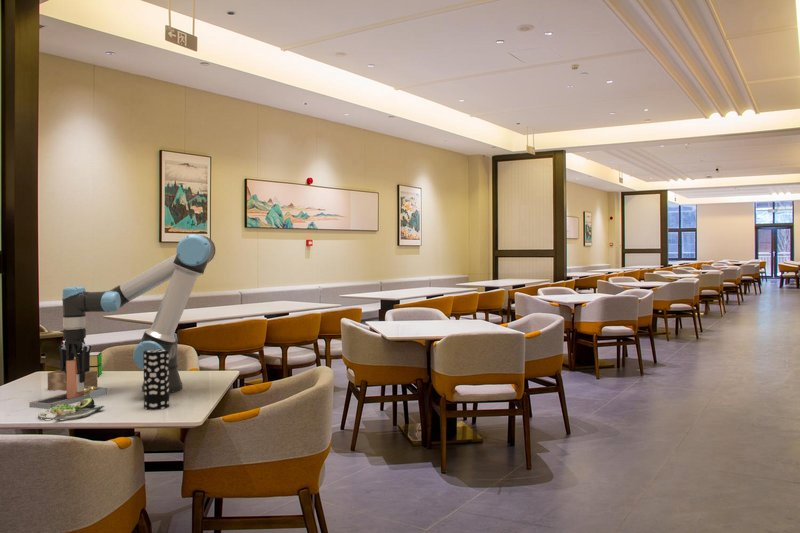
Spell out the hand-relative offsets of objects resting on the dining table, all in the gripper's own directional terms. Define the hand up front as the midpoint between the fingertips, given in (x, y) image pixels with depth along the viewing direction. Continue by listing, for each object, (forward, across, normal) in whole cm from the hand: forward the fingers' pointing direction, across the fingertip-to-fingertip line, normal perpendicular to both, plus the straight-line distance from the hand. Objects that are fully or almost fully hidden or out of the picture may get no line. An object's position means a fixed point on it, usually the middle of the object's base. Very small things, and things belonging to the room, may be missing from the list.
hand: (75, 390), depth 233 cm
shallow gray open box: (+3, 0, +6) cm, 7 cm away
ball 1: (+3, 0, -5) cm, 6 cm away
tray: (+3, 0, -6) cm, 7 cm away
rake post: (+3, 0, 0) cm, 3 cm away
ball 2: (+3, 0, -9) cm, 9 cm away
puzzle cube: (+4, +34, -39) cm, 52 cm away
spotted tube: (+4, -37, 0) cm, 37 cm away
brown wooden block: (+3, +17, -15) cm, 23 cm away
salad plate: (+4, -16, +16) cm, 23 cm away
